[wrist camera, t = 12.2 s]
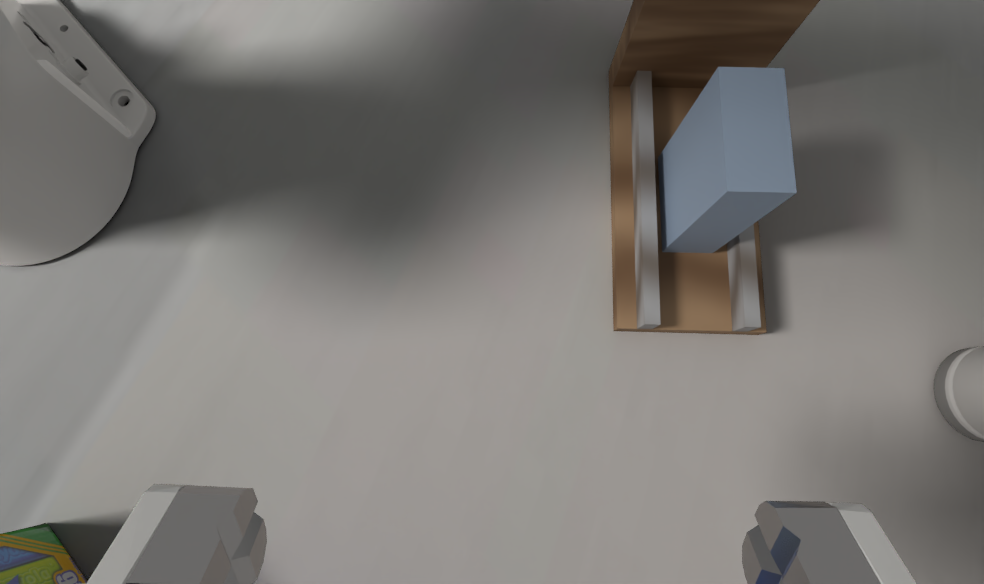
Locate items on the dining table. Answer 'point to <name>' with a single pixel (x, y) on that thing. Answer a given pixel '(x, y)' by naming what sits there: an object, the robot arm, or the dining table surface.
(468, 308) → the dining table surface
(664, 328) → the brown wooden holder
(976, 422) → the travel mug
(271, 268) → the dining table surface
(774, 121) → the pale blue rectangular block
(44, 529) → the chalk box
